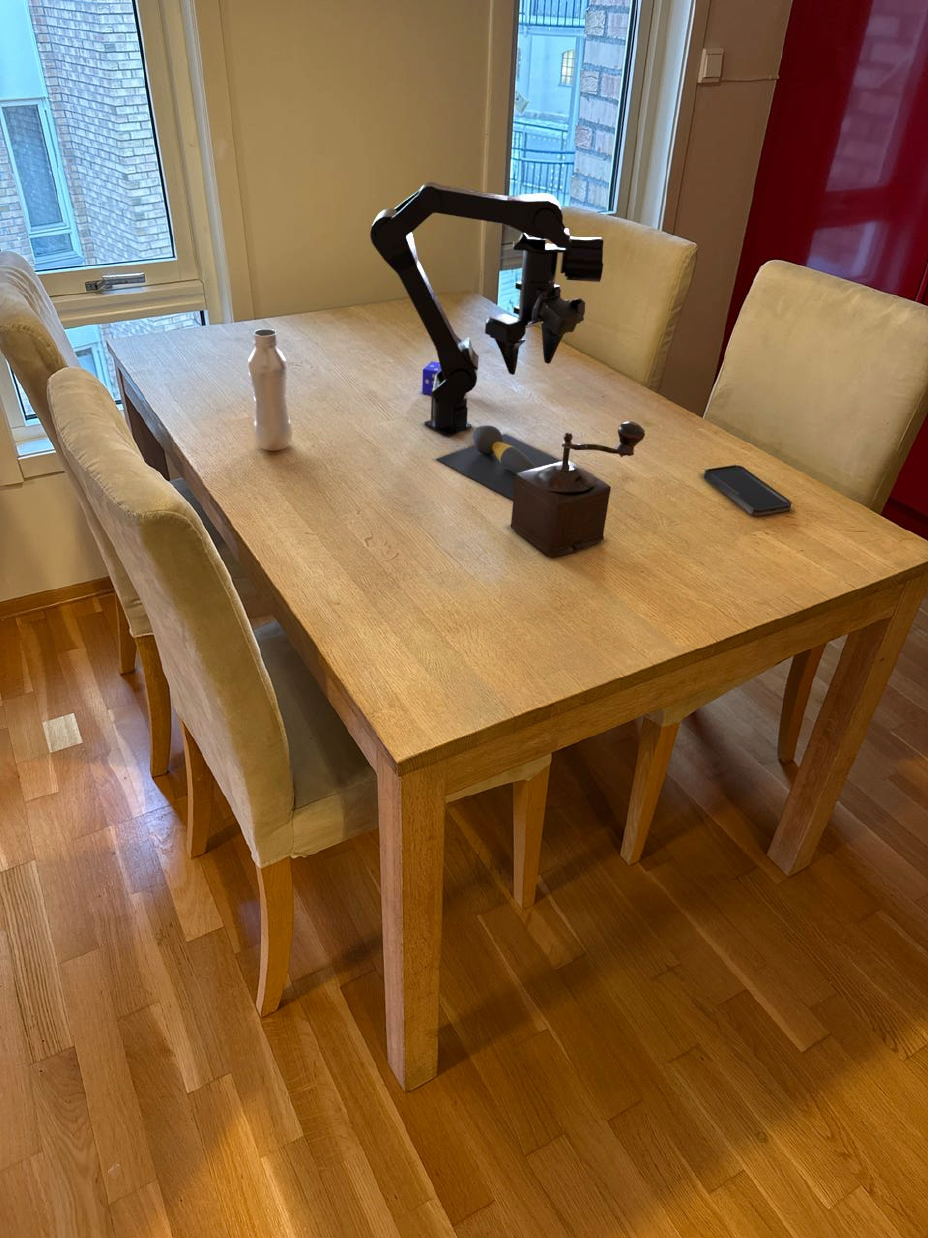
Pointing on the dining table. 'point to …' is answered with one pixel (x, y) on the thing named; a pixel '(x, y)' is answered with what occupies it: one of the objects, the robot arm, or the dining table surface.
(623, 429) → the manual coffee grinder
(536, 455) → the mat
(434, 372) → the die
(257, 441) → the plastic bottle
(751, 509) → the phone
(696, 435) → the dining table surface
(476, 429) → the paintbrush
